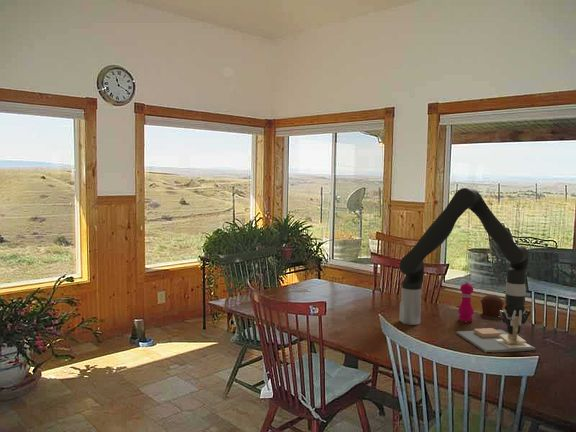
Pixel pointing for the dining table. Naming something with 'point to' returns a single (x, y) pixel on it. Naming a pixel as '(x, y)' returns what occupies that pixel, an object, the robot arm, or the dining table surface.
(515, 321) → the square plate with post
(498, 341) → the plate
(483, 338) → the mat
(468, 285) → the pepper mill
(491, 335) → the tile
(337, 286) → the dining table surface
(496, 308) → the muffin
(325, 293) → the dining table surface
